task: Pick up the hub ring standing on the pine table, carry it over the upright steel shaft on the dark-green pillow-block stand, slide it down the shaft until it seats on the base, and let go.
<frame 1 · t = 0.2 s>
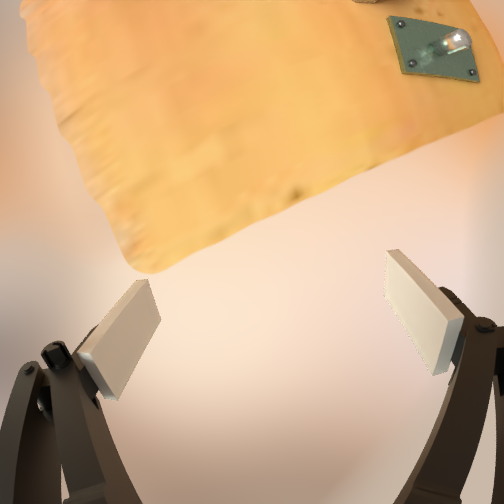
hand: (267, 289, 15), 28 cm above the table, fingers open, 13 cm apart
shaft stand: (435, 50, 30), on the table
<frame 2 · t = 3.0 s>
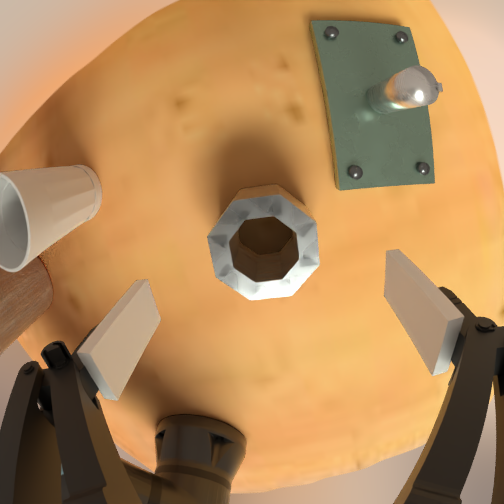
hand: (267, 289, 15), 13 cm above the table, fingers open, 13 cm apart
shaft stand: (375, 101, 22), on the table
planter: (30, 278, 31), on the table
cup: (80, 193, 27), on the table
hub: (264, 228, 27), on the table
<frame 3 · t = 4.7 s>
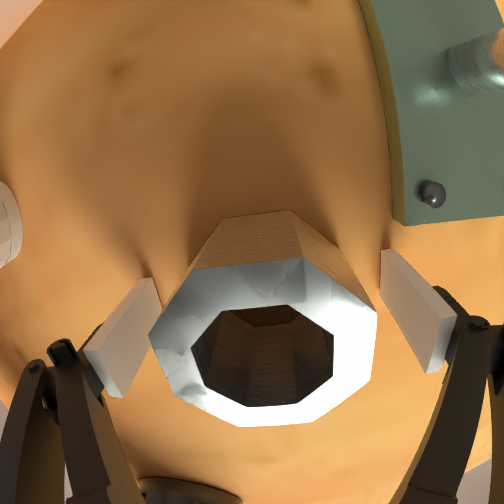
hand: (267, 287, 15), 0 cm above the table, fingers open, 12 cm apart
shaft stand: (452, 73, 10), on the table
cup: (1, 220, 15), on the table
hub: (266, 287, 15), on the table
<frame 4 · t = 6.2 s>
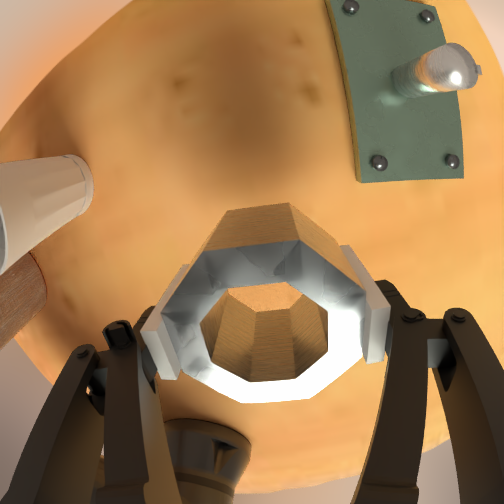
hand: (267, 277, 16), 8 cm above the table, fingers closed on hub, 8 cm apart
shaft stand: (400, 84, 18), on the table
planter: (24, 276, 29), on the table
cup: (71, 185, 24), on the table
hub: (267, 274, 17), point 8 cm above the table, touching gripper
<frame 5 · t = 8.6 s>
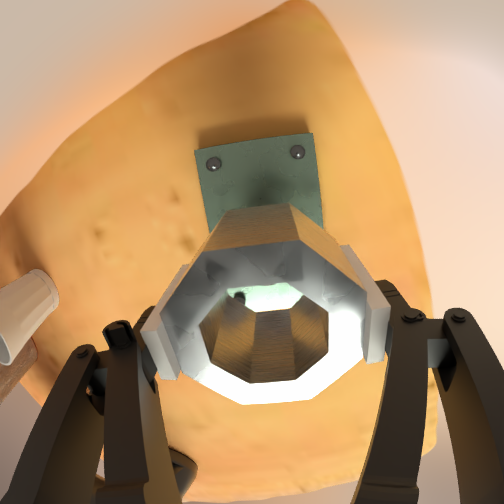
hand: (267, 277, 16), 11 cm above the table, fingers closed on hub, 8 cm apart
shaft stand: (266, 226, 27), on the table
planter: (19, 338, 36), on the table
cup: (43, 289, 31), on the table
hub: (267, 274, 17), point 11 cm above the table, touching gripper
when the fingers open (2 cm above the table, at t = 11.2 s): hub stays where it is, resting on shaft stand.
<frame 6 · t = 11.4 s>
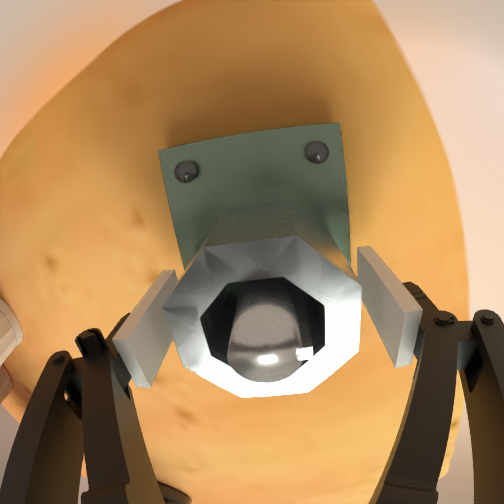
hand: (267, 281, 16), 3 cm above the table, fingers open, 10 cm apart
shaft stand: (267, 261, 18), on the table
cup: (6, 319, 23), on the table
hub: (266, 271, 17), point 1 cm above the table, touching shaft stand
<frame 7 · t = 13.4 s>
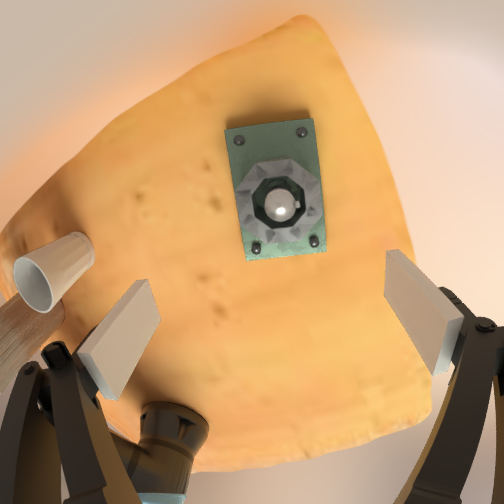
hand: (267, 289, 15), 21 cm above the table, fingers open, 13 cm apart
shaft stand: (278, 189, 34), on the table
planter: (47, 302, 44), on the table
cup: (80, 250, 39), on the table
hub: (277, 191, 32), point 1 cm above the table, touching shaft stand
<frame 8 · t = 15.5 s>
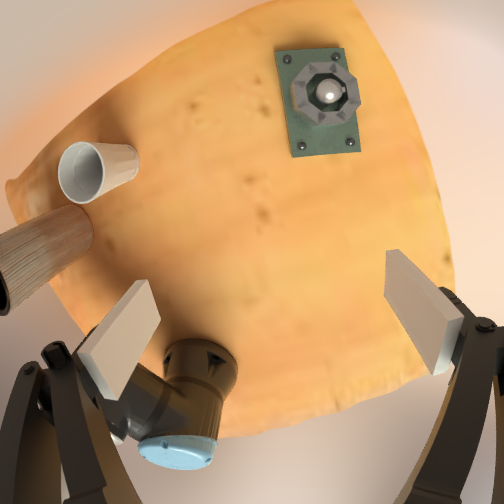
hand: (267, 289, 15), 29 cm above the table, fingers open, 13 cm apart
shaft stand: (317, 100, 36), on the table
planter: (74, 229, 46), on the table
cup: (123, 163, 41), on the table
hub: (319, 99, 35), point 1 cm above the table, touching shaft stand
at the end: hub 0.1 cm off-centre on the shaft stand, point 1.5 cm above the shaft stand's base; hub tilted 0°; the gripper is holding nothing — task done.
